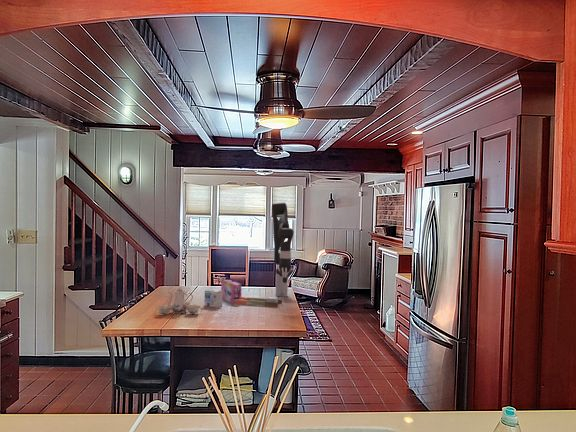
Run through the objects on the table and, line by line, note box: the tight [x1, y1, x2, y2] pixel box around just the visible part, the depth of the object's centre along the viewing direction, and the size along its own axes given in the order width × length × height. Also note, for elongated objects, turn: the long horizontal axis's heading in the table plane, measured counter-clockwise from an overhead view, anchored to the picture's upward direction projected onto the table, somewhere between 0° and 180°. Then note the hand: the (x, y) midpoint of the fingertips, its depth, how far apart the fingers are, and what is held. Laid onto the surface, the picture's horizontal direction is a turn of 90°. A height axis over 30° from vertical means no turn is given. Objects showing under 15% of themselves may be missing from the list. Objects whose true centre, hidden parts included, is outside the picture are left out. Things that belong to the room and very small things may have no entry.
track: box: [233, 297, 283, 309], centre depth 316 cm, size 14×31×4 cm, turn 75°
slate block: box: [266, 296, 279, 302], centre depth 313 cm, size 6×6×5 cm
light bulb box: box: [204, 288, 223, 308], centre depth 313 cm, size 11×7×11 cm, turn 62°
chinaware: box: [155, 286, 203, 316], centre depth 288 cm, size 28×17×17 cm, turn 106°
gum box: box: [220, 278, 242, 304], centre depth 335 cm, size 24×8×14 cm, turn 28°
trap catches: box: [234, 296, 252, 306], centre depth 319 cm, size 11×8×3 cm
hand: (284, 282), depth 311 cm, fingers closed
